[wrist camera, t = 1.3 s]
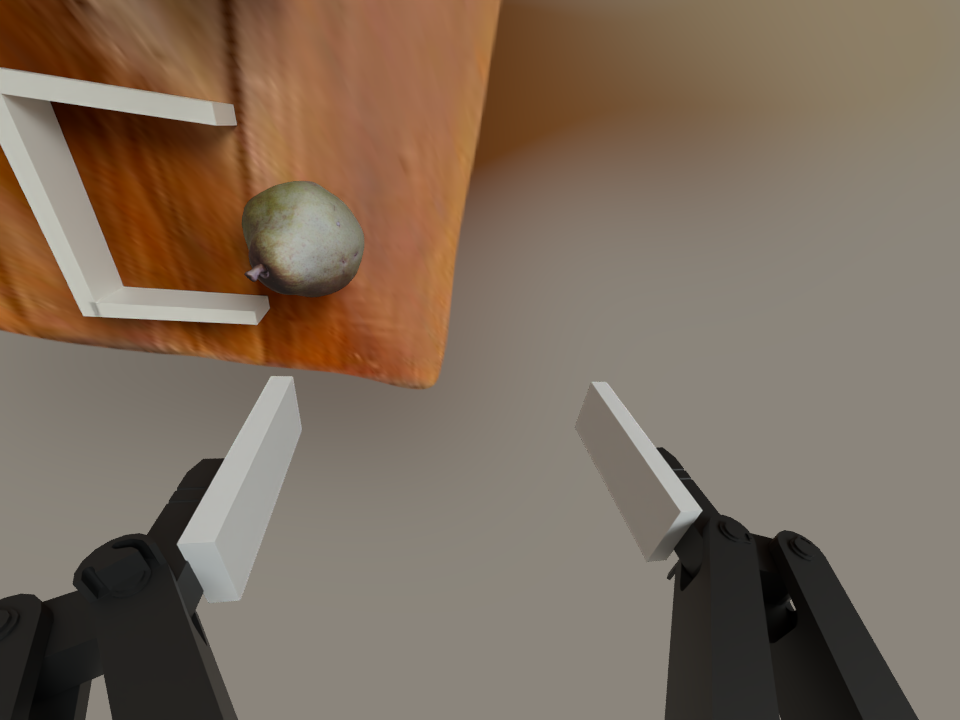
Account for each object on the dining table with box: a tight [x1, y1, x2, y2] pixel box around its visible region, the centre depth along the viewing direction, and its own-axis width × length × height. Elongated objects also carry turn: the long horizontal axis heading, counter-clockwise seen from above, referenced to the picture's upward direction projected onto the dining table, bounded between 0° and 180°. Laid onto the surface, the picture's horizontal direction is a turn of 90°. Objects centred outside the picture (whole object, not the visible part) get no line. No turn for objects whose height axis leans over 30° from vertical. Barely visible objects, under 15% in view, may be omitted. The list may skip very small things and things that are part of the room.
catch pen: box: [0, 67, 270, 325], centre depth 33 cm, size 15×19×4 cm
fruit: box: [242, 181, 364, 297], centre depth 32 cm, size 10×9×12 cm
